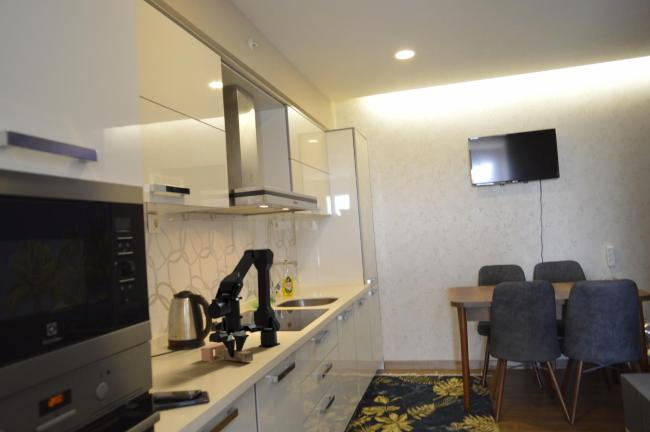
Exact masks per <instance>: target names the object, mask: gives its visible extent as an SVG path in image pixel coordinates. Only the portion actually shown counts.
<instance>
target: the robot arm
mask: <svg viewBox="0 0 650 432" xmlns="http://www.w3.org/2000/svg"><path fill="white" fill-rule="evenodd" d="M274 254H275V253H274V252H273V251H272V249H271V248H259V249H258V248H256V249H255V248H251V249H245V250H244V252H243V255H242V257H241V258H240V259H239V261H238V262H237V264H236V265H235V267H234V269H233V271H232V272H231V273H230V274H227V275H226V276H224V278H222V280H221V281H220V283H219V286H218V289H217V292H216V293H215V297H214V298H212V299H211V303H210V304H209V305H208V308H207V313H208V316H209V318H211V319H213V320H216V321H211V322H210V329H211V332H213V333H210V334H209V336H208V342H209V343H210V342H211V343H224V345H225V346H226V350H227V351H228V353H229V355H230V357H231V358H233V356H234V350H241V351H243V348H244V345H245V343H246V341H247V339H248V337H249V336H250V334H247V332H249V333H251V334H253V333H257V332H259V333H260V337H259V338H260V339H259V340H260V344H259V345H258V347H259V348H269V349H270V348H273V347H277V346H279V345H281V343H280V342H278V335H277V332H279V331H280V330H281V323H280V322H279V321H278V319H277V318H276V312H275V310H274V309H273V307H272V305H271V303H272V302H271V277H270V275H271V274H270V271H271V268H272V267H273V264H274V256H275V255H274ZM252 266H253V267H254V268H255V270H256V271H257V273H256V274H257V299H258V301H257V302H258V303H257V308H256V310H254V311H253V322H254V323H244V324H242V320H241V319H243V318H244V315H242V314H241V306H240V300H243V296H241V295H240V294H241V292H242V290H243V288H244V279H245V277H246V275H247V274H248V272H249V271H250V269H251V268H252ZM217 319H221V321H220V322H218V321H217Z"/></svg>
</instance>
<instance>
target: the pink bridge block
mask: <svg viewBox="0 0 650 432" xmlns="http://www.w3.org/2000/svg"><path fill="white" fill-rule="evenodd" d="M221 350H227V348H226V346H225V345H224V343H223V342H221V343H216V342H213V343H212V344H208V345H204V346H203V347H200V355H201V361H203V362H213V361H215V359H214V357H219V351H221ZM214 355H215V356H214Z"/></svg>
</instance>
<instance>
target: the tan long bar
mask: <svg viewBox="0 0 650 432" xmlns="http://www.w3.org/2000/svg"><path fill="white" fill-rule="evenodd" d="M218 358H222V359H223V360H225V361H226V360H227V361H232V362H234V361H235V362H241V363H250V362H252V361H254V355H253V351H247V350H242V351H241V350H236V349H234V356H233V358H231V357H230V355H229V353H228V351H227V349H226V350H221V351H219V356H218Z"/></svg>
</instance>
